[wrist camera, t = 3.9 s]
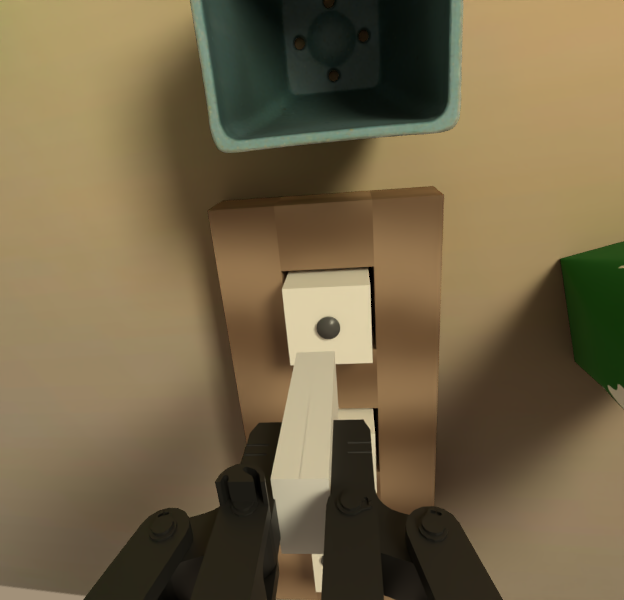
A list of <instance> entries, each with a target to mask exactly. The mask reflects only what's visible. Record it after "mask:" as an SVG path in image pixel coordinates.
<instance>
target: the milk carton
mask: <svg viewBox="0 0 624 600" xmlns="http://www.w3.org/2000/svg"><path fill="white" fill-rule="evenodd" d="M560 261H561V268H562V275H563V282H564V289H565V296H566V303H567V310H568V317H569V324H570V331H571V338H572V345H573V352H574V359H575V362H576V363H577V364H578V365H579V366H580V367H581V368H583V369H584V370H585V371H586V372H587V373H588V374H589V375H590V376H591V377H592V378H593V379H595V380H596V381H597V382H598V383H599V384H600V385H601V386H602V387H603V388H604V389H605V390H606V391H607V392H608V393H609V394H610V395H611V397H612V398H613V399H614V400H615V401H616V402H617V403H618V404H619V405H620V406H621V407H622V408H623V409H624V242H620V243H616V244H613V245H609V246H605V247H602V248H598V249H594V250H591V251H587V252H583V253H580V254H576V255H572V256H569V257H565V258H561V259H560Z"/></svg>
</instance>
